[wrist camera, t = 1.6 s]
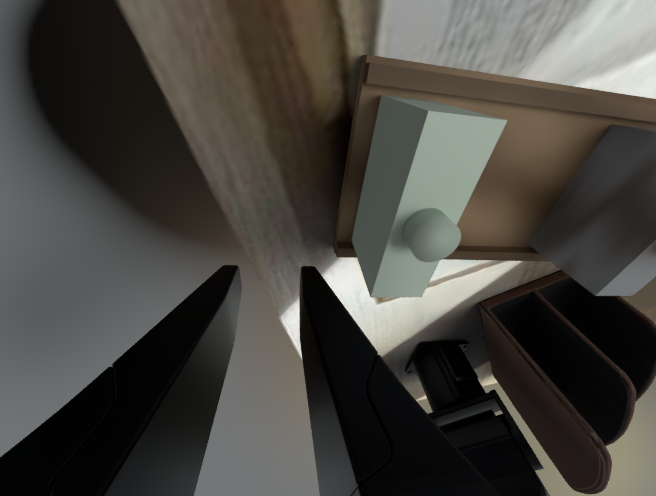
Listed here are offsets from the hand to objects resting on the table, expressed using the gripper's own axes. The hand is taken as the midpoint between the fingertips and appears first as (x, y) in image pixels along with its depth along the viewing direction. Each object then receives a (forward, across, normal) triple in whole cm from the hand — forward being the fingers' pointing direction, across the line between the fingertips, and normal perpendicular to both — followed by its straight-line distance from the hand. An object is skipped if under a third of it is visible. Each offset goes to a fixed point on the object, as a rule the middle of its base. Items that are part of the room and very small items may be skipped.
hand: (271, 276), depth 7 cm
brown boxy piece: (+10, -14, 0) cm, 17 cm away
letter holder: (+10, -30, +18) cm, 37 cm away
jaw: (+9, -7, 0) cm, 11 cm away
